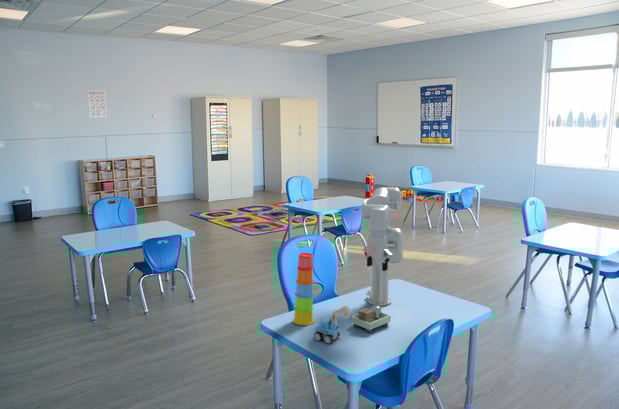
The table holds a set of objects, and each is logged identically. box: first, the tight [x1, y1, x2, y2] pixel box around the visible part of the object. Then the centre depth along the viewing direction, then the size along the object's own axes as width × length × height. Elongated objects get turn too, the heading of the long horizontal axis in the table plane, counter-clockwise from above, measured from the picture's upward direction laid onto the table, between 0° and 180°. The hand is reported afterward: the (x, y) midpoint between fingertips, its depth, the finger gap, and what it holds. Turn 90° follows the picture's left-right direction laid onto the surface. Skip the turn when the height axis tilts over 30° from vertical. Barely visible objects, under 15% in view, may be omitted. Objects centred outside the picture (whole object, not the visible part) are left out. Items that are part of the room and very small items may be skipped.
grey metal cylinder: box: [371, 305, 382, 320], centre depth 245 cm, size 4×4×6 cm
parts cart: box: [350, 308, 392, 334], centre depth 242 cm, size 12×15×5 cm
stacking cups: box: [292, 252, 315, 326], centre depth 246 cm, size 10×10×35 cm
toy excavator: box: [313, 305, 351, 345], centre depth 226 cm, size 9×17×17 cm, turn 58°
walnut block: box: [358, 307, 374, 323], centre depth 240 cm, size 5×5×6 cm
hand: (377, 268), depth 241 cm, fingers open, 9 cm apart
